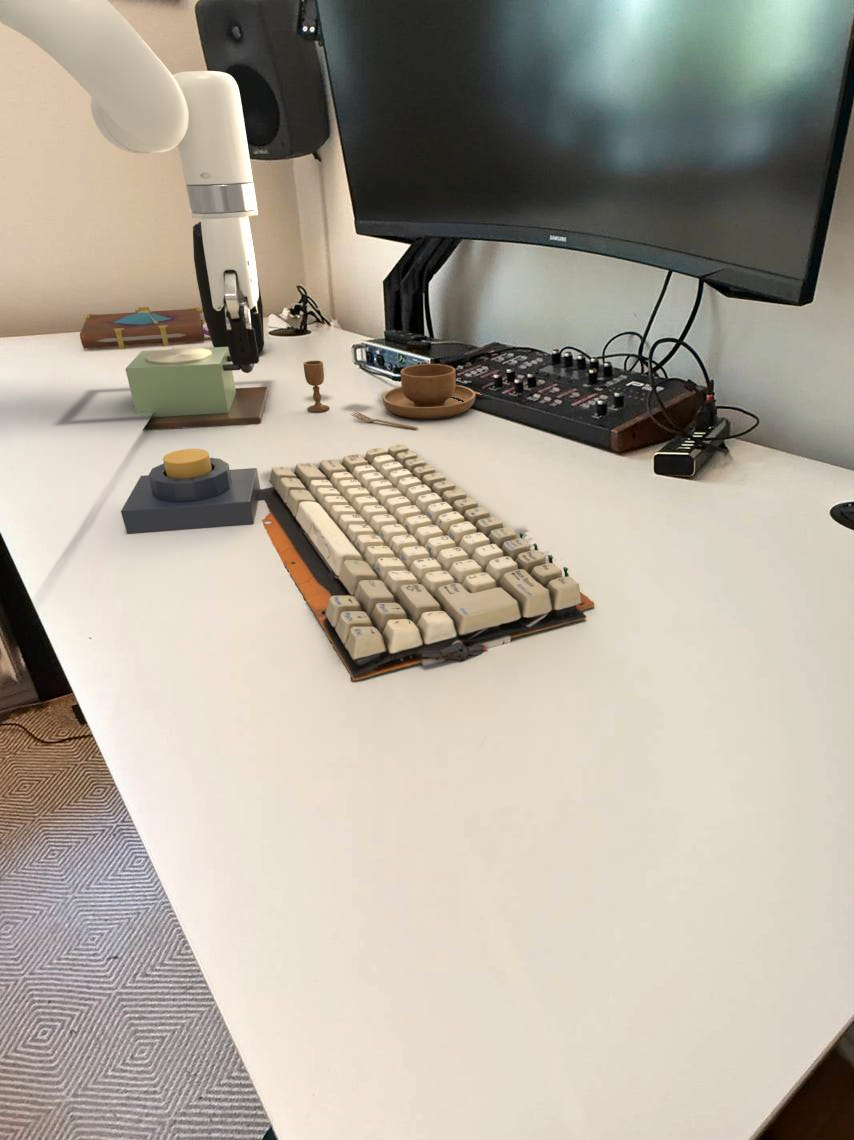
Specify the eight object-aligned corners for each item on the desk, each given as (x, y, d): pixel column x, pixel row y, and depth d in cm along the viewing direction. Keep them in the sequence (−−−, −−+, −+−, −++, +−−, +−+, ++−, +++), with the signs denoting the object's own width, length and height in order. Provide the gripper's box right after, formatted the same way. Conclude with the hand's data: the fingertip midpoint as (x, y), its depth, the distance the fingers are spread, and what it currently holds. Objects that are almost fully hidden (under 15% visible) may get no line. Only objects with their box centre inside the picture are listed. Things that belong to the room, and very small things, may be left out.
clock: (124, 366, 95) (249, 359, 97) (140, 348, 104) (255, 342, 106) (137, 418, 99) (258, 411, 101) (152, 397, 107) (263, 391, 109)
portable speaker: (215, 350, 135) (191, 220, 125) (271, 348, 136) (252, 218, 126) (207, 361, 128) (182, 224, 118) (267, 359, 129) (247, 222, 119)
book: (231, 346, 142) (226, 316, 139) (82, 357, 136) (73, 326, 133) (227, 324, 155) (223, 296, 152) (91, 333, 149) (83, 305, 146)
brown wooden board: (65, 435, 96) (63, 428, 96) (95, 401, 109) (93, 395, 108) (260, 423, 99) (259, 416, 99) (268, 392, 112) (267, 386, 111)
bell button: (163, 483, 72) (159, 464, 71) (170, 468, 75) (166, 449, 74) (209, 480, 72) (205, 461, 71) (214, 465, 75) (211, 447, 74)
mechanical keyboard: (237, 496, 79) (231, 464, 77) (416, 467, 86) (414, 436, 84) (359, 696, 50) (354, 651, 49) (612, 627, 57) (616, 585, 56)
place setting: (430, 433, 94) (428, 382, 91) (300, 411, 103) (294, 364, 100) (501, 398, 107) (501, 352, 104) (380, 381, 116) (377, 338, 113)
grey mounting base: (126, 534, 71) (115, 491, 69) (146, 496, 78) (136, 457, 76) (253, 524, 72) (246, 482, 70) (260, 488, 80) (253, 449, 78)
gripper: (199, 198, 99) (226, 342, 109) (178, 208, 85) (210, 373, 94) (261, 196, 100) (282, 339, 109) (250, 205, 86) (275, 369, 95)
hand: (249, 354), depth 102 cm, fingers open, 9 cm apart
